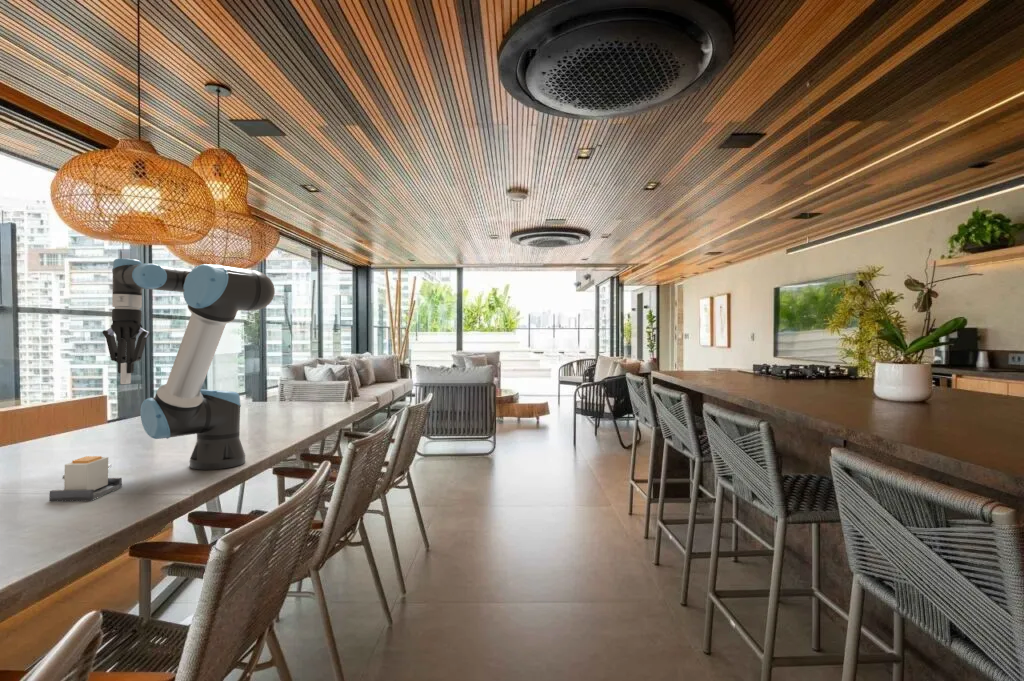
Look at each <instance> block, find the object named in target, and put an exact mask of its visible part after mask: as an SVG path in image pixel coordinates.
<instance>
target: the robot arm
mask: <svg viewBox="0 0 1024 681" xmlns="http://www.w3.org/2000/svg"><path fill="white" fill-rule="evenodd" d="M112 264H113V265H112V270H111V271H112V272H111V273H112V294H111V295H112V296H111V297H112V298H111V300H112V302H111V304H112V307H113V309H111V320H112V323H111V324H110V327H109V328H108V329H105V330H102V332H101V333H102V334H103V336H104V338H105V340H106V344H107V348H108V349H107V350H108V352H109V356H110V361H113V362H116V363H117V373H118V374H120V379H119V380H120V384H119V385H128V384H131V383H132V382H131V381H132V374H134V372H135V371H134V370H135V369H134V368H135V363H136V362H139V361H141V360H142V357H143V353H144V349H145V347H146V346H145V345H146V342H147V339H148V338H149V336H150V335H151V332H150V331H148V330H146V329H144V328H143V326H142V310H141V309H142V307H143V306H142V304H143V303H142V300H143V299H142V296H143V293H142V292H143V290H153V291H165V292H167V291H168V292H179V293H182V294H183V298H184V301H185V303H186V304H187V309H188V310H189V312H190V313H191V315H190V318H189V320H188V323H187V326H186V329H185V332H184V333H183V336H182V340H181V342H180V346H179V348H178V350H177V352H176V356H175V359H174V362H173V363H172V367H171V370H170V373H169V374H168V378H167V380H166V381H167V382H166V383H165V384H162V385H161V386H159V387H158V389H157V390H156V393H155V396H154V397H148V398H146V399H144V400H143V401H142V403H141V406H140V410H139V411H140V414H139V415H140V421H141V423H142V424H141V425H142V427H143V430H144V431H145V433H146V434H147V436H148V437H150V438H151V439H154V440H158V439H159V440H161V439H162V440H163V439H167V440H168V439H170V438H175V437H176V438H178V437H185V436H190V435H196V442H195V444H194V448H193V450H192V453H191V456H190V458H189V468H191V469H194V470H202V471H203V470H205V471H206V470H207V471H208V470H221V469H222V470H223V469H229V468H234V467H238V466H241V465H243V464H245V463H246V453H245V450H244V448H243V447H244V446H243V445H242V442H241V439H240V433H241V432H240V431H241V430H240V429H241V427H240V426H241V425H240V423H241V406H242V405H241V398H240V397H241V396H240V394H239V393H238V392H237V391H231V390H229V391H228V390H219V389H217V390H216V389H204V388H203V389H202V387H203V385H204V382H205V380H206V378H207V375H208V371H209V369H210V366H211V364H212V361H213V359H214V356H215V354H216V351H217V349H218V346H219V343H220V341H221V339H222V335H223V332H224V330H225V328H226V325H227V324H230V323H232V322H234V321H235V319H236V315H237V313H238V311H245V312H246V311H247V312H248V311H249V312H250V311H251V312H253V311H259V310H262V309H264V308H266V307H267V306H268V305H270V304H271V303H272V301H273V299H274V298H275V292H276V291H275V290H276V289H275V285H274V283H273V281H272V280H271V278H270V277H268V276H267V274H266V273H264V272H261V271H259V270H255V269H248V268H247V269H246V268H240V267H233V266H226V265H222V264H216V263H215V264H207V263H202V264H200V265H197V266H195V267H194V268H192V269H189V268H188V269H187V268H177V267H169V266H164V265H163V266H162V265H158V264H156V263H148V262H147V263H145V262H144V263H142V261H141V260H138V259H135V258H115V259H114V260H113V262H112ZM115 335H116V337H115ZM137 336H138V338H137Z"/></svg>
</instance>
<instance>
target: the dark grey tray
mask: <svg viewBox="0 0 1024 681" xmlns="http://www.w3.org/2000/svg"><path fill="white" fill-rule="evenodd" d="M122 481H123V477H108V485H105V486H103V487H101V488H98V489H96V490H94V489H90V490H64V489H52V490H49V494H48V495H49V496H48V498H49V501H63V502H91V500H92V501H94V500H96V499H98V498H97V497H99V498H101V497H103V496H105V495H107V494H109V492H110V493H111V491H112V492H114V491H117V490H118V488H119V489H121V488H122V487H123V486H122V484H123V482H122ZM120 487H121V488H120ZM113 490H114V491H113ZM106 493H107V494H106ZM104 494H105V495H104ZM102 495H103V496H102ZM100 496H101V497H100ZM95 498H96V499H95ZM93 499H94V500H93Z"/></svg>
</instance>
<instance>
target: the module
mask: <svg viewBox="0 0 1024 681" xmlns="http://www.w3.org/2000/svg"><path fill="white" fill-rule="evenodd" d="M108 463H109V457H108V456H106V457H105V456H102V455H96V456H95V455H89V456H87V455H86V456H83V457H79V458H77V459H74V460H73V459H72V461H71V462H69V463H66V464H64V473H63V475H64V479H63V481H64V483H63V486H64V487H63V488H64V489H63V490H90V489H94V490H96V489H98V488H101V487H103V486H105V485H108V478H109V469H108Z"/></svg>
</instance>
